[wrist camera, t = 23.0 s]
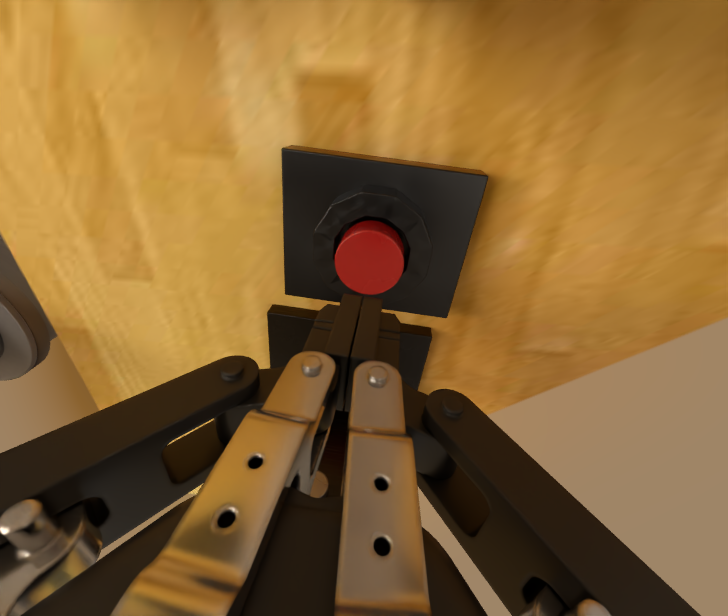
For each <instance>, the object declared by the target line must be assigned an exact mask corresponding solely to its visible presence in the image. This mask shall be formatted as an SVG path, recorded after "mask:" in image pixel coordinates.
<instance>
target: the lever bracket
mask: <svg viewBox="0 0 728 616" xmlns="http://www.w3.org/2000/svg"><path fill="white" fill-rule="evenodd" d="M318 313H319V311H314V310H307V309H300V308H294V307H287V306H280V305H272V306H271V308H270V309H269V311H268V312H267V317H268V334H269V351H270V368H279V367H284V366H286V365H287V364H288V362H289V361H290V359H291V358H292V357H293V356H295V355H296V354H299V353H301V352H302V350H303V348H304V346H305V343H306V341H307V339H308V336H309V334H310V332H311V329H312V328H313V324H314V322H315V321H316V317H317V315H318ZM431 340H432V332H431V328H428V327H421V326H415V325H408V324H401V323H400V340H399V341H400V344H399V373H400V376H401V378H402V379H403V381H404V382H405V383H406V384H407V385H409V386H410V387H411V388H413V389H415V390H418V387H419V383H420V380H421V376H422V372H423V369H424V365H425V362H426V358H427V354H428V351H429V347H430V343H431ZM346 393H347V392H346ZM345 402H346V396H345V401H344V406H343V411H340V410H335V414H334V418H333V422H332V424H331V428H330V433H329V436H328V439H327V442H326V445H325V448H324V451H323V454H322V457H321V460H320V463H319V466H318V469H317V472H316V475H315V479H314V482H313V485H312V489H311V493H310V496H312V497H314V498H328V497H338V496H340V495H341V485H342V475H343V464H344V454H345V443H346V433H347V425H348V417H349V412H347V411H345Z"/></svg>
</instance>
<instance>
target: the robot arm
mask: <svg viewBox="0 0 728 616" xmlns="http://www.w3.org/2000/svg"><path fill="white" fill-rule="evenodd" d="M362 299H363V296H358V295H351V294H343V297H342V300H341V303H340V306H337V305H331V304H327V305H326V306H325V307H324V308H322V309H321V310H320V311H319V313H318V315H317V317H316V321H315V322H314V324H313V328H312V329H311V332H310V334H309V336H308V339H307V341H306V343H305V346H304V348H303V350H302V352H301V353H299V354H296V355H295V356H293V357H292V358H291V359H290V361H289V362H288V364H287V365H286V366H284V367H279V368H271V369H259V367H258V364H257V363H256V362H255V361H254V360H253V359H251V358H249V357H246V356H229V357H225V358H222V359H220V360H217V361H215V362H213V363H210V364H208V365H206V366H203V367H201V368H199V369H196V370H194V371H192V372H189V373H187V374H185V375H182V376H180V377H178V378H175V379H173V380H171V381H168V382H166V383H164V384H161V385H159V386H157V387H154V388H152V389H150V390H147V391H145V392H143V393H140V394H138V395H136V396H133V397H131V398H129V399H126V400H124V401H122V402H119V403H117V404H115V405H112V406H110V407H108V408H105V409H103V410H101V411H98V412H96V413H94V414H91V415H89V416H87V417H84V418H82V419H80V420H77V421H75V422H73V423H71V424H68V425H66V426H63V427H61V428H59V429H57V430H54V431H52V432H49V433H47V434H45V435H42V436H40V437H38V438H36V439H33V440H31V441H28V442H26V443H24V444H21V445H19V446H17V447H14V448H12V449H10V450H7V451H5V452H3V453H0V616H487V614H486V612H485V611H484V609H483V608H482V606H481V605H480V603H479V601H478V600H477V598H476V597H475V595H474V594H473V592H472V591H471V589H470V587H469V586H468V584H467V583H466V582H465V580H464V578H463V577H462V575H461V574H460V572H459V570H458V569H457V567H456V566H455V564H454V563H453V561H452V559H451V558H450V557H449V555H448V554H447V552H446V551H445V550H444V548H443V547H442V546H441V545H440V543H439V542H438V541H437V540H436V539H435V538H434V537H433V536H432V535H431V534H430V533H429V532H428V531H426V530H425V529H424V528H423V527H422V526H421V516H420V506H419V497H418V487H419V488H420V489H421V491H422V492H423V494H424V495H425V496H426V498H427V499H428V500H429V502H430V503H431V504H432V506H433V507H434V509H435V510H436V511H437V513H438V514H439V516H440V517H441V518H442V520H443V521H444V523H445V524H446V525H447V527H448V528H449V529H450V531H451V532H452V534H453V535H454V536H455V538H456V539H457V540H458V542H459V543H460V545H461V546H462V547H463V549H464V550H465V551H466V553H467V554H468V556H469V557H470V558H471V560H472V561H473V563H474V564H475V565H476V567H477V568H478V569H479V571H480V572H481V574H482V575H483V576H484V578H485V579H486V580H487V582H488V583H489V585H490V586H491V587H492V589H493V590H494V592H495V593H496V594H497V595H498V597H499V598H500V600H501V601H502V603H503V604H504V605H505V607H506V608H507V609H508V611H509V612H510V613H511V615H512V616H701V615H700V614H699V613H697V612H696V611H695V610H694V609H693V608H692V607H691V606H690V605H689V604H688V603H687V602H686V601H685V600H684V599H682V598H681V597H680V596H679V595H678V594H677V593H676V592H675V591H674V590H673V589H672V588H671V587H670V586H669V585H667V584H666V583H665V582H664V581H663V580H662V579H661V578H660V577H659V576H658V575H657V574H656V573H655V572H654V571H652V570H651V569H650V568H649V567H648V566H647V565H646V564H645V563H644V562H643V561H642V560H641V559H640V558H639V557H637V556H636V555H635V554H634V553H633V552H632V551H631V550H630V549H629V548H628V547H627V546H626V545H625V544H624V543H622V542H621V541H620V540H619V539H618V538H617V537H616V536H615V535H614V534H613V533H612V532H611V531H610V530H608V528H606V527H605V526H604V525H603V524H602V523H601V522H600V521H599V520H598V519H597V518H596V517H595V516H594V515H593V514H591V513H590V512H589V511H588V510H587V509H586V508H585V507H584V506H583V505H582V504H581V503H580V502H579V501H577V500H576V499H575V498H574V497H573V496H572V495H571V494H570V493H569V492H568V491H567V490H566V489H565V488H564V487H563V486H562V485H560V484H559V483H558V482H557V481H556V480H555V479H554V478H553V477H552V476H550V474H549V473H548V472H546V471H545V470H544V469H543V468H542V467H541V466H540V465H539V464H538V463H537V462H536V461H535V460H534V459H533V458H532V457H530V456H529V455H528V454H527V453H526V452H525V451H524V450H523V449H522V448H521V447H520V446H519V445H518V444H517V443H516V442H514V441H513V440H512V439H511V438H510V437H509V436H508V435H507V434H506V433H505V432H504V431H503V430H502V429H501V428H499V427H498V426H497V425H496V424H495V423H494V422H493V421H492V420H491V419H490V418H489V417H488V416H487V415H486V414H484V413H483V412H482V411H481V410H480V409H479V408H478V407H477V406H476V405H475V404H474V403H473V402H472V401H471V400H470V399H468V398H467V397H466V396H464V395H463V394H461V393H459V392H456V391H454V390H449V389H439V390H436V391H433V392H432V393H430V394H429V396H428V395H426V394H424V393H421V392H419V391H417V390H415V389H413V388H411V387H410V386H409V385H407V384H406V383H405V382H404V381H403V379H402V378H401V376H400V373H399V344H400V341H399V340H400V322H399V320H398V319H397V317H396V315H395V314H391V313H384V312H381V311H382V302H383V299H378V298H371V297H365V296H364V299H363V304H362ZM361 307H362V308H361ZM3 353H4V342H3V339H2V336H1V334H0V358H1V357H2V355H3ZM346 392H347V393H346ZM345 396H346V402H345V411H347V412H349V417H348V425H347V433H346V443H345V454H344V464H343V475H342V485H341V495H340V496H338V497H328V498H314V497H312V496H310V493H311V489H312V485H313V482H314V479H315V475H316V472H317V469H318V466H319V463H320V460H321V457H322V454H323V451H324V448H325V445H326V442H327V439H328V436H329V433H330V428H331V424H332V422H333V418H334V414H335V410H340V411H343V406H344V401H345ZM213 418H214V420H213V421H211V422H209V423H208V424H206V425H204V426H202V427H200V428H198V429H197V430H195V431H193V432H191V433H189V434H187V435H186V436H184V437H182V438H180V439H178V440H176V441H175V442H173V443H171V444H169V443H170V442H171V441H173V440H174V439H176V438H178V437H180V436H182V435H183V434H185V433H187V432H189V431H191V430H193V429H195V428H196V427H198V426H200V425H202V424H204V423H206V422H207V421H209V420H211V419H213ZM168 444H169V445H168ZM201 484H203V485H202V487H201V488H200V490H199V491H198V493H197V495H196V496H193V497H191V498H189V499H187V500H186V501H184V502H182V503H180V504H179V505H177V506H176V507H174V508H173V509H171V510H170V511H168V512H167V513H165V514H164V515H163V516H161V517H160V518H159V519H157V520H156V521H154V522H153V523H152V524H150V525H148V526H147V527H146V528H144V529H143V530H141V531H140V532H138V533H137V534H136V535H134V536H133V537H131V538H130V539H129V540H127V541H126V542H124V543H123V544H121V545H120V546H118V547H117V548H116V549H114V550H113V551H111V552H110V553H109V554H107V555H106V556H105V557H103V558H102V559H100V560H99V561H97V559H98V557H99V554H100V552H101V550H102V549H103V548H105V547H106V546H108V545H109V544H111V543H112V542H114V541H116V540H117V539H118V538H120V537H122V536H123V535H125V534H126V533H128V532H129V531H131V530H132V529H134V528H135V527H137V526H138V525H140V524H141V523H143V522H145V521H146V520H148V519H149V518H151V517H152V516H153V515H155V514H157V513H158V512H160V511H161V510H163V509H164V508H166V507H167V506H169V505H171V504H172V503H173V502H175V501H177V500H178V499H180V498H181V497H183V496H184V495H186V494H187V493H189V492H190V491H192V490H193V489H195V488H196V487H198V486H199V485H201ZM417 485H418V487H417ZM96 561H97V562H96Z"/></svg>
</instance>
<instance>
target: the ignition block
mask: <svg viewBox="0 0 728 616" xmlns="http://www.w3.org/2000/svg"><path fill="white" fill-rule="evenodd" d="M487 181H488V175H486V174H485V173H484V172H483V171H481V170H474V169H466V168H459V167H451V166H444V165H436V164H429V163H421V162H414V161H406V160H399V159H392V158H384V157H377V156H369V155H362V154H354V153H347V152H339V151H332V150H324V149H317V148H309V147H302V146H294V145H291V146H288V147H285V148H282V187H283V230H284V274H285V294H286V295H292V296H299V297H306V298H313V299H320V300H326V301H333V302H340V303H341V300H342V297H343V294H351V295H358V296H363V299H364V296H365V297H371V298H378V299H383V302H382V309H387V310H394V311H401V312H408V313H414V314H421V315H428V316H435V317H442V318H447V316H448V313H449V310H450V306H451V303H452V299H453V296H454V293H455V289H456V286H457V282H458V279H459V276H460V272H461V269H462V265H463V262H464V259H465V255H466V252H467V249H468V245H469V242H470V238H471V235H472V232H473V228H474V225H475V221H476V218H477V215H478V211H479V208H480V204H481V201H482V198H483V194H484V191H485V187H486V184H487ZM363 221H379V222H382V223H385V224H387V225H389V226H390V227H392V228H393V229H394V230H395V231H396V232H397V233H398V235H399V236H400V238H401V240H402V243H403V247H404V269H403V273H402V275H401V277H400V279H399V281H398V282H397V283H396V284H395V285H394V286H393V287H392V288H390V289H389V290H387V291H385V292H383V293H379V294H373V295H368V294H362V293H358V292H356V291H354V290H352V289H350V288H349V287H347V286H346V285H345V284H344V283H343V282H342V281H341V279H340V278H339V276H338V274H337V272H336V268H335V254H336V251H337V248H338V246H339V244H340V242H341V240H342V238H343V236H344V234H345V233H346V232H347V230H348V229H349V228H351V227H352V226H353V225H355V224H357V223H360V222H363ZM363 299H362V304H363Z"/></svg>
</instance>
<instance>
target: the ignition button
mask: <svg viewBox="0 0 728 616" xmlns="http://www.w3.org/2000/svg"><path fill="white" fill-rule="evenodd" d="M335 268H336V272H337V274H338V276H339V278H340V279H341V281H342V282H343V283H344V284H345V285H346V286H347V287H349V288H350V289H352V290H354V291H356V292H358V293H362V294H368V295H373V294H379V293H383V292H385V291H387V290H389V289H390V288H392V287H393V286H394V285H395V284H396V283H397V282H398V281H399V279H400V277H401V275H402V273H403V269H404V247H403V243H402V240H401V238H400V236H399V235H398V233H397V232H396V231H395V230H394V229H393V228H392V227H390V226H389V225H387V224H385V223H382V222H379V221H363V222H360V223H357V224H355V225H353V226H352V227H351V228H349V229H348V230H347V232H346V233H345V234H344V236H343V238H342V240H341V242H340V244H339V246H338V248H337V251H336V254H335Z"/></svg>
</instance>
